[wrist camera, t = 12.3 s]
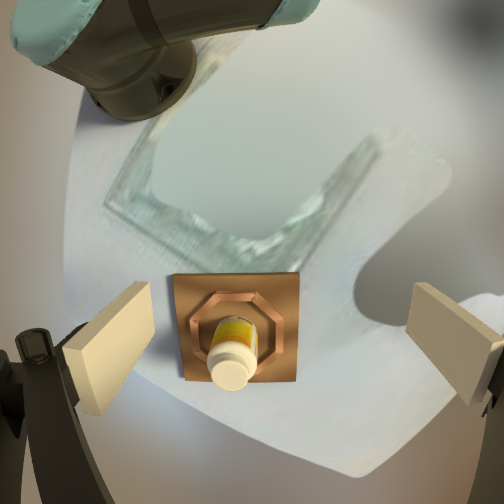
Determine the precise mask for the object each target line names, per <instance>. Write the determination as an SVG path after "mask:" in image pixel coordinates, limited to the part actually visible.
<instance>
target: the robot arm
mask: <svg viewBox="0 0 504 504" xmlns="http://www.w3.org/2000/svg"><path fill="white" fill-rule="evenodd" d="M319 2H320V0H18V2H17V4H16V7H15V9H14V12H13V15H12V18H11V23H10V39H11V43H12V45H13V47H14V48H15V49H16V51H17V52H19V53H20V54H22V55H24V56H25V57H27V58H29V59H30V60H31V61H32V62H33V63H34V64H35V65H38V66H42V67H44V68H46V69H48V70H51V71H53V72H55V73H57V74H59V75H61V76H64V77H66V78H68V79H70V80H72V81H74V82H76V83H78V84H80V85H83V86H85V87H86V89H87V91H88V93H89V94H90V96H91V98H92V100H93V101H94V103H95V104H96V105H97V106H98V107H99V108H100V109H101V110H102V111H103V112H105V113H107V114H109V115H111V116H113V117H115V118H118V119H121V120H126V121H138V120H144V119H148V118H151V117H154V116H156V115H158V114H160V113H162V112H164V111H165V110H167V109H168V108H170V107H171V106H172V105H173V104H175V103H176V102H177V101H178V100H179V99H180V98H181V97H182V95H183V94H184V93H185V92H186V90H187V89H188V87H189V85H190V83H191V81H192V79H193V77H194V74H195V70H196V52H195V48H194V46H193V44H192V42H191V40H193V39H198V38H202V37H207V36H213V35H218V34H224V33H230V32H237V31H244V30H252V29H255V30H264V29H266V28H268V27H272V26H279V25H287V24H296V23H299V22H302V21H304V20H305V19H306V18H307V17H309V16H310V14H312V13H313V11H314V10H315V9H316V7H317V6H318V4H319ZM405 332H406V333H407V334H408V335H409V336H410V337H411V338H412V340H413V341H414V342H415V343H416V344H417V345H418V346H419V348H420V349H421V350H422V351H423V352H424V353H425V355H426V356H427V357H428V358H429V359H430V360H431V362H432V363H433V364H434V365H435V366H436V367H437V369H438V370H439V371H440V372H441V373H442V375H443V376H444V377H445V378H446V379H447V381H448V382H449V383H450V384H451V386H452V387H453V388H454V389H455V390H456V392H457V393H458V394H459V395H460V397H461V398H462V399H463V400H464V402H465V403H466V404H467V405H468V406H470V405H473V404H477V403H480V402H482V400H483V398H484V395H485V393H486V391H487V389H488V390H489V391H490V392H491V393H492V395H491V397H490V400H489V402H488V404H487V406H486V408H485V410H484V412H483V414H482V416H481V417H484V415H485V414H486V413H487V418H486V425H485V432H484V438H483V443H482V448H481V453H480V458H479V463H478V467H477V471H476V475H475V479H474V482H473V486H472V490H471V493H470V496H469V500H468V503H467V504H504V338H503V337H502V336H500V335H499V334H498V333H496V332H495V331H494V330H492V329H491V328H490V327H488V326H487V325H486V324H484V323H483V322H482V321H480V320H479V319H478V318H476V317H475V316H474V315H472V314H471V313H469V312H468V311H467V310H465V309H464V308H462V307H461V306H460V305H458V304H457V303H455V302H454V301H453V300H451V299H450V298H448V297H447V296H445V295H444V294H443V293H441V292H440V291H438V290H437V289H435V288H434V287H432V286H431V285H429V284H428V283H426V282H425V283H414V289H413V295H412V301H411V306H410V312H409V317H408V322H407V327H406V331H405ZM154 334H155V328H154V320H153V312H152V304H151V294H150V285H149V282H134V283H133V284H132V285H130V286H129V287H128V288H127V289H126V290H125V291H123V292H122V293H121V294H120V295H119V296H118V297H117V298H115V299H114V300H113V301H112V302H111V303H110V304H109V305H107V306H106V307H105V308H104V309H103V310H102V311H101V312H100V313H99V314H97V315H96V316H95V317H94V318H93V319H92V320H91V321H90V322H86V323H84V324H82V325H80V326H78V327H76V328H75V329H74V330H73V331H72V332H71V334H69V335H67V336H66V338H65V339H63V340H62V341H61V342H60V343H59V344H57V346H55V347H54V346H53V343H52V339H51V335H50V333H49V331H48V330H46V329H43V328H34V329H29V330H25V331H23V332H22V333H20V334H19V335H18V336H16V339H15V342H16V345H17V349H18V352H19V355H20V358H21V360H22V363H14V362H10V361H9V359H8V356H7V353H6V352H5V351H4V350H0V504H20V503H21V484H22V472H23V462H24V454H25V447H26V440H27V434H28V441H29V447H30V453H31V457H32V463H33V468H34V473H35V477H36V482H37V486H38V489H39V493H40V497H41V501H42V504H115V502H114V500H113V498H112V496H111V494H110V493H109V491H108V489H107V486H106V484H105V482H104V480H103V478H102V476H101V474H100V472H99V469H98V467H97V465H96V462H95V461H94V458H93V455H92V453H91V451H90V448H89V446H88V443H87V440H86V438H85V435H84V432H83V430H82V427H81V424H80V421H79V418H78V415H77V413H76V410H75V408H74V407H75V406H76V404H77V403H78V402H79V401H80V404H81V406H82V409H83V412H84V413H86V414H90V415H94V416H98V417H103V415H104V413H105V412H106V410H107V409H108V407H109V405H110V404H111V402H112V400H113V399H114V397H115V395H116V394H117V392H118V391H119V389H120V387H121V386H122V384H123V383H124V381H125V379H126V378H127V376H128V374H129V373H130V371H131V370H132V368H133V367H134V365H135V364H136V362H137V360H138V359H139V357H140V356H141V354H142V353H143V351H144V349H145V348H146V346H147V345H148V343H149V342H150V340H151V339H152V337H153V336H154Z"/></svg>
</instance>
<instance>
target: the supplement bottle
mask: <svg viewBox="0 0 504 504" xmlns="http://www.w3.org/2000/svg"><path fill="white" fill-rule="evenodd" d="M257 351H258V334H257V330H256V327H255V326H254V324H253V323H252V322H251V321H250V320H248V319H246V318H244V317H241V316H231V317H227V318H225V319H224V320H222V321H221V322H220V323H219V324H218V326H217V328H216V331H215V334H214V337H213V340H212V343H211V347H210V350H209V353H208V357H207V367H208V370H209V372H210V373H211V378H212V381H213V382H214V384H215V385H216V386H218V387H219V388H221V389H223V390H227V391H236V390H239V389H241V388H243V387H244V386H245V385H246V384H247V382H248V380H249V379H250V378H251V377H252V376H253V375H254V374H255V372H256V369H257Z"/></svg>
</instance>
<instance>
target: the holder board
mask: <svg viewBox="0 0 504 504" xmlns="http://www.w3.org/2000/svg"><path fill="white" fill-rule="evenodd" d="M172 277H173V287H174V297H175V307H176V316H177V324H178V333H179V340H180V348H181V355H182V362H183V369H184V376H185V381H203V382H213V381H212V378H211V373H210V372H209V370H208V367H207V357H208V353H209V350H210V347H211V343H212V340H213V337H214V334H215V331H216V328H217V326H218V324H219V323H220V322H221V321H222V320H224V319H225V318H227V317H231V316H241V317H244V318H246V319H248V320H250V321H251V322H252V323H253V324H254V326H255V327H256V330H257V334H258V351H257V369H256V372H255V374H254V375H253V376H252V377H251V378H250V379H249V380H248V382H247V383H257V382H294V381H296V369H297V348H298V322H299V284H300V274H299V272H279V273H208V274H174V275H173V276H172Z"/></svg>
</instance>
